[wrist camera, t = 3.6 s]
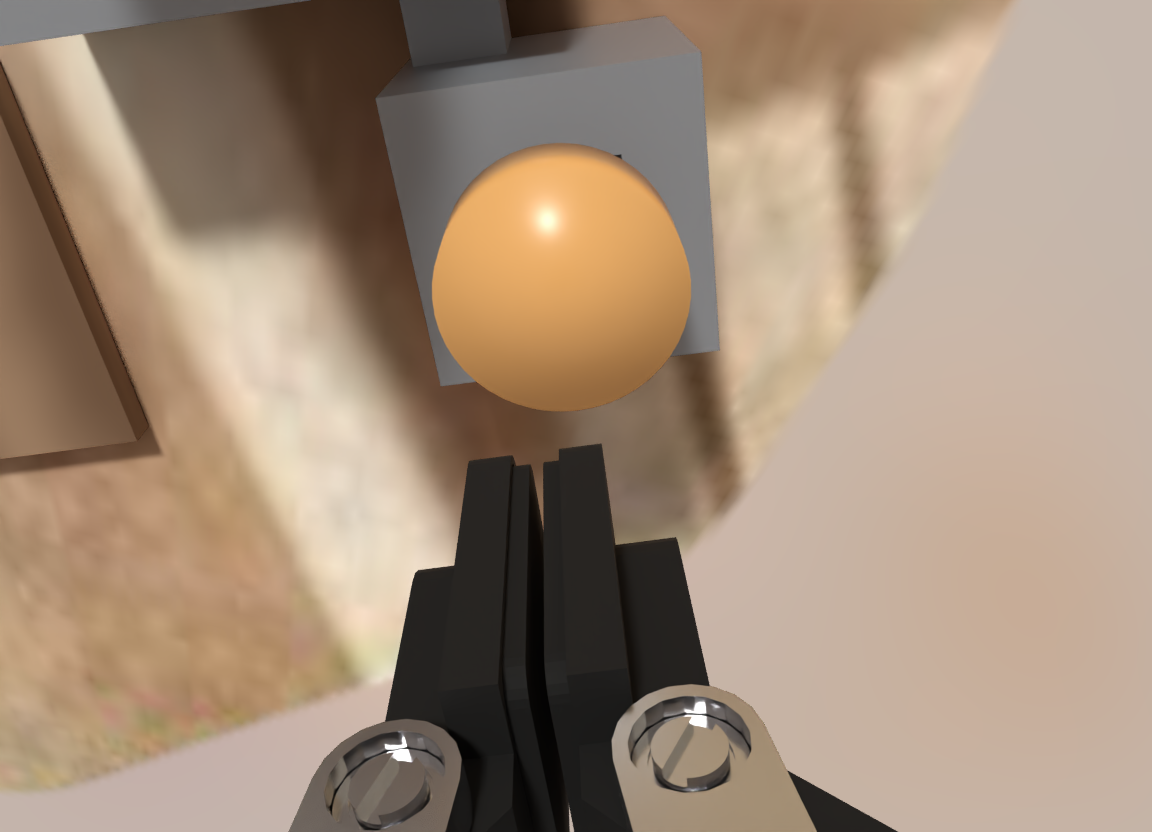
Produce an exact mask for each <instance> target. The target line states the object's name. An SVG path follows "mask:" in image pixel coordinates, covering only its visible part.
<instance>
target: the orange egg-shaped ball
mask: <svg viewBox="0 0 1152 832" xmlns="http://www.w3.org/2000/svg"><path fill="white" fill-rule="evenodd" d="M432 301H433V308H434V315H435V318H436V322H437V325H438V328H439V331H440V333H441V336H442V338H443V340H444V342H445V345H446V346H447V348H448V349H449V351H450V353H451V354H452V356H453V357H454V359H455V360H456V361H457V362H458V364H459V365H460V366H461V367H462V369H463V370H464V371H465V372H466V373H467V374H468V375H470V376H471V377H472V378H473V379H474V380H475V381H476V382H477V383H479V384H480V385H481V386H483V387H484V388H486V389H487V390H488V391H490V392H492V393H494V394H496V395H497V396H499V397H501V398H503V399H505V400H508V401H510V402H513V403H515V404H518V405H522V406H525V407H529V408H533V409H539V410H545V411H562V412H563V411H578V410H584V409H589V408H594V407H598V406H601V405H604V404H607V403H610V402H612V401H615V400H617V399H619V398H621V397H624V396H625V395H627V394H629V393H630V392H632V391H634V390H636V389H637V388H639V387H640V386H641V385H642V384H644V383H645V382H646V381H648V380H649V379H650V378H651V377H652V376H653V375H654V374H655V373H656V372H657V371H658V370H659V369H660V368H661V367H662V366H663V365H664V363H665V362H666V361H667V359H668V358H669V357H670V356H671V354H672V352H673V351H674V349H675V347H676V346H677V344H678V342H679V340H680V338H681V335H682V333H683V331H684V328H685V325H686V321H687V318H688V314H689V308H690V301H691V278H690V271H689V265H688V261H687V258H686V254H685V251H684V248H683V245H682V243H681V240H680V238H679V235H678V233H677V230H676V227H675V225H674V222H673V220H672V217H671V215H670V213H669V211H668V208H667V206H666V204H665V202H664V201H663V199H662V198H661V196H660V194H659V193H658V191H657V190H656V189H655V188H654V186H653V185H652V184H651V183H650V182H649V181H648V179H647V178H646V177H644V176H643V175H642V174H641V173H640V172H639V171H638V170H637V169H636V168H634V167H633V166H631V165H630V164H628V163H627V162H625V161H624V160H622V159H620V158H618V157H616V156H614V155H612V154H610V153H608V152H606V151H603V150H600V149H597V148H594V147H590V146H585V145H580V144H571V143H550V144H541V145H536V146H531V147H527V148H524V149H521V150H518V151H516V152H513V153H511V154H509V155H507V156H505V157H503V158H501V159H499V160H497V161H496V162H494V163H493V164H491V165H490V166H489V167H487V168H486V169H484V170H483V171H482V172H481V173H480V174H479V175H478V176H477V177H476V178H475V179H473V180H472V182H471V183H470V184H469V185H468V187H467V188H466V189H465V190H464V191H463V193H462V194H461V196H460V198H459V199H458V201H457V203H456V204H455V206H454V208H453V211H452V213H451V215H450V217H449V220H448V223H447V226H446V229H445V232H444V236H443V239H442V242H441V245H440V248H439V251H438V255H437V259H436V262H435V266H434V272H433V279H432Z"/></svg>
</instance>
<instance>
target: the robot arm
mask: <svg viewBox="0 0 1152 832" xmlns="http://www.w3.org/2000/svg"><path fill="white" fill-rule="evenodd" d="M543 500H544V532H543V526H542V521H541V515H540V510H539V504H538V498H537V493H536V487H535V482H534V476H533V471H532V467H531V465H530V464H529V465H521V466H516V464H515V461H514V458H513V456H512V455H511V456H503V457H495V458H488V459H480V460H473V461H469V463H468V469H467V476H466V484H465V491H464V498H463V506H462V513H461V521H460V528H459V535H458V543H457V550H456V558H455V565H454V566H448V567H440V568H432V569H424V570H418V571H417V572H416V573H415V575H414V579H413V582H412V587H411V592H410V597H409V602H408V608H407V613H406V618H405V623H404V628H403V633H402V638H401V643H400V648H399V654H398V659H397V664H396V669H395V674H394V679H393V684H392V689H391V694H390V700H389V705H388V710H387V715H386V720H385V722H382V723H380V724H376V725H374V726H371V727H368V728H365V729H363V730H361V731H359V732H357V733H356V734H354V735H353V736H351V737H349V738H348V739H346V740H344V741H343V742H341V743H340V744H339V745H338V746H337V747H336V748H335V749H334V750H333V751H332V752H331V753H330V754H329V755H328V756H327V757H326V758H325V759H324V760H323V762H322V764H321V765H320V766H319V768H318V770H317V771H316V773H315V774H314V776H313V778H312V780H311V782H310V784H309V787H308V789H307V791H306V794H305V796H304V798H303V800H302V803H301V805H300V807H299V809H298V812H297V814H296V816H295V818H294V821H293V823H292V825H291V828H290V830H289V832H570V831H569V807H570V811H571V817H572V822H573V827H574V832H897V831H896V830H894V829H892V828H890V827H888V826H886V825H885V824H883V823H881V822H879V821H878V820H876V819H874V818H872V817H870V816H869V815H867V814H864V813H863V812H861V811H860V810H858V809H856V808H854V807H852V806H850V805H849V804H847V803H845V802H843V801H841V800H840V799H838V798H836V797H834V796H832V795H831V794H829V793H827V792H825V791H823V790H822V789H820V788H818V787H816V786H814V785H812V784H811V783H809V782H807V781H805V780H804V779H802V778H800V777H798V776H796V775H795V774H793V773H791V772H789V771H787V769H786V767H785V765H784V764H783V761H782V760H781V757H780V755H779V753H778V751H777V749H776V747H775V745H774V743H773V741H772V739H771V737H770V735H769V733H768V731H767V729H766V727H765V724H764V723H763V721H762V720H761V719H760V717H759V716H758V715H757V713H756V712H755V710H754V709H753V708H752V707H751V706H750V705H749V704H747V703H746V702H744V701H743V700H742V699H740V698H739V697H737V696H736V695H735V694H732V693H729V692H727V691H724V690H721V689H718V688H716V687H712V686H710V685H709V681H708V676H707V672H706V667H705V663H704V658H703V654H702V649H701V645H700V640H699V636H698V631H697V626H696V622H695V618H694V613H693V608H692V604H691V599H690V595H689V591H688V586H687V581H686V577H685V572H684V568H683V563H682V559H681V554H680V550H679V545H678V542H677V539H676V537H675V538H667V539H659V540H652V541H644V542H636V543H628V544H620V545H615V538H614V530H613V523H612V516H611V509H610V501H609V494H608V487H607V479H606V472H605V465H604V458H603V450H602V444H594V445H587V446H579V447H572V448H564V449H559V461H552V462H544V464H543Z"/></svg>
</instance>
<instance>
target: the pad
mask: <svg viewBox="0 0 1152 832" xmlns="http://www.w3.org/2000/svg"><path fill="white" fill-rule="evenodd" d="M148 427H149V426H148V424H147V421H146V419H145V416H144V414H143V412H142V409H141V407H140V404H139V402H138V399H137V397H136V394H135V392H134V389H133V387H132V385H131V382H130V380H129V377H128V375H127V372H126V370H125V367H124V365H123V363H122V360H121V358H120V355H119V353H118V350H117V348H116V345H115V343H114V341H113V338H112V336H111V333H110V331H109V328H108V326H107V323H106V321H105V319H104V316H103V314H102V311H101V309H100V306H99V304H98V301H97V299H96V297H95V294H94V292H93V289H92V287H91V284H90V282H89V279H88V277H87V275H86V272H85V270H84V267H83V265H82V262H81V260H80V257H79V255H78V253H77V250H76V248H75V245H74V243H73V240H72V238H71V235H70V233H69V231H68V228H67V226H66V223H65V221H64V218H63V216H62V213H61V211H60V208H59V206H58V204H57V201H56V199H55V196H54V194H53V191H52V189H51V186H50V184H49V182H48V179H47V177H46V174H45V172H44V169H43V167H42V164H41V162H40V160H39V157H38V155H37V152H36V150H35V147H34V145H33V142H32V140H31V138H30V135H29V133H28V130H27V128H26V125H25V123H24V120H23V118H22V116H21V113H20V111H19V108H18V106H17V103H16V101H15V98H14V96H13V94H12V91H11V89H10V86H9V84H8V81H7V79H6V76H5V74H4V72H3V69H2V67H1V64H0V459H4V458H12V457H20V456H27V455H35V454H43V453H51V452H59V451H66V450H74V449H82V448H90V447H97V446H105V445H113V444H121V443H128V442H136V441H138V440H139V438H140V437H141V436H142V434H143V433H144V432H145V430H146V429H147V428H148Z"/></svg>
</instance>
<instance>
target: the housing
mask: <svg viewBox="0 0 1152 832" xmlns="http://www.w3.org/2000/svg"><path fill="white" fill-rule="evenodd" d="M302 1H309V0H0V46H4V45H11V44H18V43H24V42H31V41H38V40H45V39H52V38H58V37H65V36H72V35H79V34H85V33H92V32H99V31H106V30H113V29H119V28H126V27H133V26H140V25H146V24H153V23H160V22H167V21H173V20H180V19H187V18H194V17H201V16H207V15H214V14H221V13H228V12H234V11H241V10H248V9H255V8H262V7H268V6H275V5H282V4H289V3H295V2H302ZM399 1H400V6H401V11H402V16H403V21H404V26H405V31H406V36H407V40H408V45H409V50H410V55H411V58H410V59H409V60H408V62H407V63H406V64H405V65H404V66H403V67H402V68H401V70H400V71H399V72H398V73H397V74H396V75H395V76H394V78H393V79H392V80H391V81H390V82H389V83H388V84H387V86H386V87H385V88H384V89H383V90H382V91H381V92H380V93H379V95H378V96H377V97H376V98H375V99H376V103H377V108H378V112H379V117H380V121H381V125H382V130H383V134H384V139H385V143H386V147H387V152H388V156H389V161H390V165H391V169H392V174H393V178H394V183H395V187H396V191H397V196H398V200H399V205H400V209H401V213H402V218H403V222H404V227H405V231H406V235H407V240H408V244H409V249H410V253H411V257H412V262H413V266H414V271H415V275H416V279H417V284H418V288H419V293H420V297H421V301H422V306H423V310H424V315H425V319H426V323H427V328H428V332H429V337H430V341H431V345H432V350H433V354H434V359H435V363H436V367H437V372H438V376H439V380H440V385H441V386H447V385H455V384H463V383H471V382H476V381H475V380H474V379H473V378H472V377H471V376H470V375H468V374H467V373H466V372H465V371H464V370H463V369H462V367H461V366H460V365H459V364H458V362H457V361H456V360H455V359H454V357H453V356H452V354H451V353H450V351H449V349H448V348H447V346H446V345H445V342H444V340H443V338H442V336H441V333H440V331H439V328H438V325H437V322H436V318H435V315H434V308H433V301H432V279H433V272H434V266H435V262H436V259H437V255H438V251H439V248H440V245H441V242H442V239H443V236H444V232H445V229H446V226H447V223H448V220H449V217H450V215H451V213H452V211H453V208H454V206H455V204H456V203H457V201H458V199H459V198H460V196H461V194H462V193H463V191H464V190H465V189H466V188H467V187H468V185H469V184H470V183H471V182H472V180H473V179H475V178H476V177H477V176H478V175H479V174H480V173H481V172H482V171H483V170H484V169H486V168H487V167H489V166H490V165H491V164H493V163H494V162H496V161H497V160H499V159H501V158H503V157H505V156H507V155H509V154H511V153H513V152H516V151H518V150H521V149H524V148H527V147H531V146H536V145H541V144H550V143H571V144H580V145H585V146H590V147H594V148H597V149H600V150H603V151H606V152H608V153H610V154H612V155H614V156H616V157H618V158H620V159H622V160H624V161H625V162H627V163H628V164H630V165H631V166H633V167H634V168H636V169H637V170H638V171H639V172H640V173H641V174H642V175H643V176H644V177H646V178H647V179H648V181H649V182H650V183H651V184H652V185H653V186H654V188H655V189H656V190H657V191H658V193H659V194H660V196H661V198H662V199H663V201H664V202H665V204H666V206H667V208H668V211H669V213H670V215H671V217H672V220H673V222H674V225H675V227H676V230H677V233H678V235H679V238H680V240H681V243H682V245H683V248H684V251H685V254H686V258H687V261H688V265H689V271H690V278H691V301H690V308H689V314H688V318H687V321H686V325H685V328H684V331H683V333H682V335H681V338H680V340H679V342H678V344H677V346H676V347H675V349H674V351H673V352H672V354H671V356H679V355H687V354H695V353H702V352H710V351H718V350H720V347H719V331H718V315H717V299H716V283H715V267H714V251H713V234H712V218H711V202H710V186H709V170H708V154H707V138H706V122H705V106H704V90H703V73H702V57H701V51H700V50H699V49H698V48H697V47H696V46H695V45H694V44H693V43H692V42H691V41H690V40H689V39H688V38H687V37H686V36H685V35H684V34H683V33H682V32H681V31H680V30H679V29H678V28H677V27H676V26H675V25H674V24H673V23H672V22H671V21H670V20H669V19H668V18H667V17H666V16H660V17H653V18H646V19H640V20H633V21H626V22H619V23H612V24H605V25H598V26H591V27H584V28H577V29H570V30H564V31H557V32H550V33H543V34H536V35H529V36H522V37H515V38H511V32H510V25H509V19H508V12H507V6H506V0H399ZM671 356H670V357H671Z"/></svg>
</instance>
